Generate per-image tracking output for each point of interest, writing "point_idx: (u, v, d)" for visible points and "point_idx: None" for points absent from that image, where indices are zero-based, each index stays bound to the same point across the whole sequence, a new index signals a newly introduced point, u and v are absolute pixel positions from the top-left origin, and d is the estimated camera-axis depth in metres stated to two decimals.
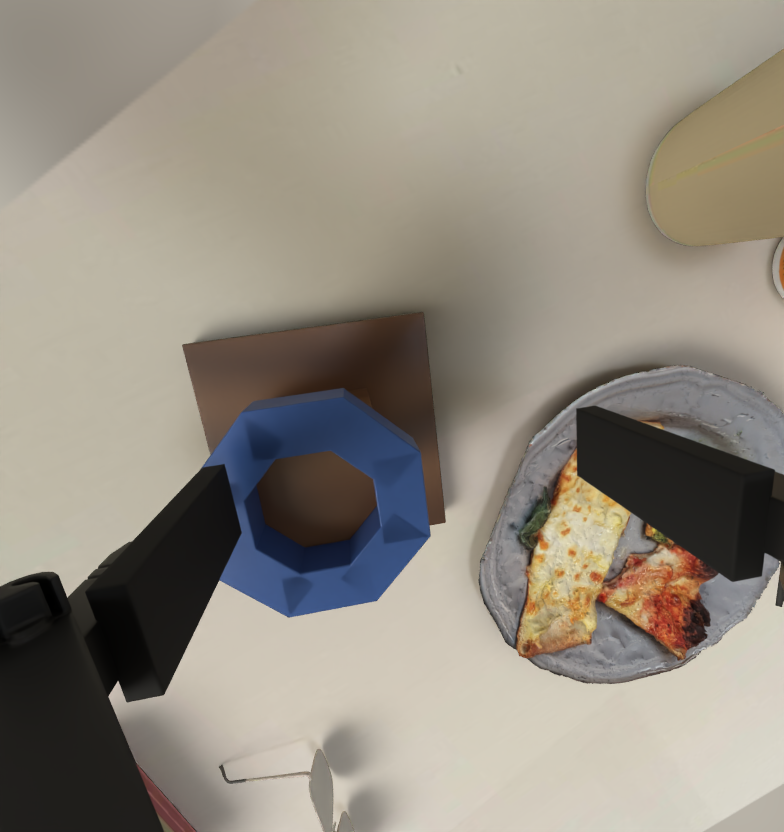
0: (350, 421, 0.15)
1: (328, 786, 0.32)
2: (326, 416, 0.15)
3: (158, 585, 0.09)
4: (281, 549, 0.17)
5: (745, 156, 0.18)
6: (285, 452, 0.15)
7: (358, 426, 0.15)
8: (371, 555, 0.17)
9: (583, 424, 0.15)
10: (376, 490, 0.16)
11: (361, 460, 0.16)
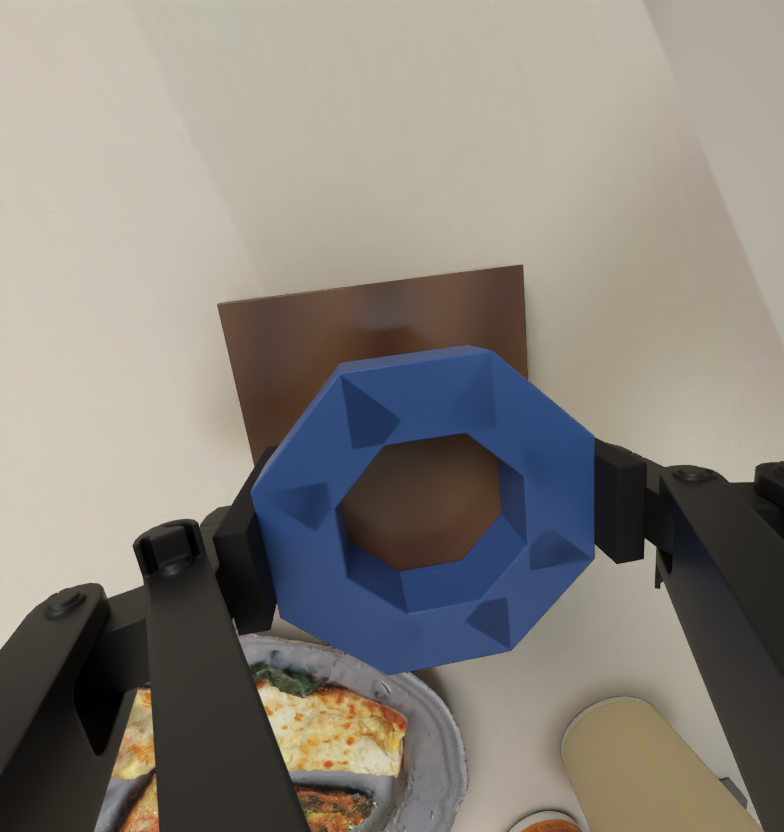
0: (563, 568, 0.11)
1: None
2: (573, 540, 0.11)
3: (261, 538, 0.10)
4: None
5: (686, 816, 0.21)
6: (532, 490, 0.11)
7: (555, 578, 0.12)
8: (362, 605, 0.11)
9: None
10: (464, 604, 0.11)
11: (509, 584, 0.11)
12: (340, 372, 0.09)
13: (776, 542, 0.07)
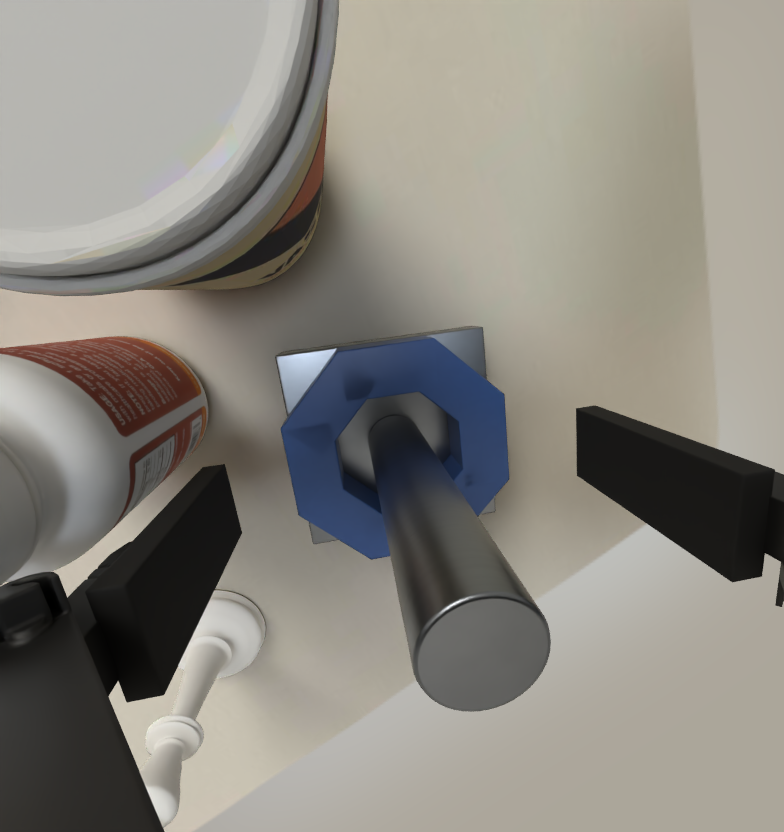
0: (488, 485, 0.17)
1: None
2: (494, 465, 0.17)
3: (158, 585, 0.09)
4: None
5: None
6: (464, 430, 0.16)
7: (482, 492, 0.17)
8: (353, 508, 0.17)
9: (583, 424, 0.15)
10: None
11: None
12: (338, 351, 0.15)
13: None
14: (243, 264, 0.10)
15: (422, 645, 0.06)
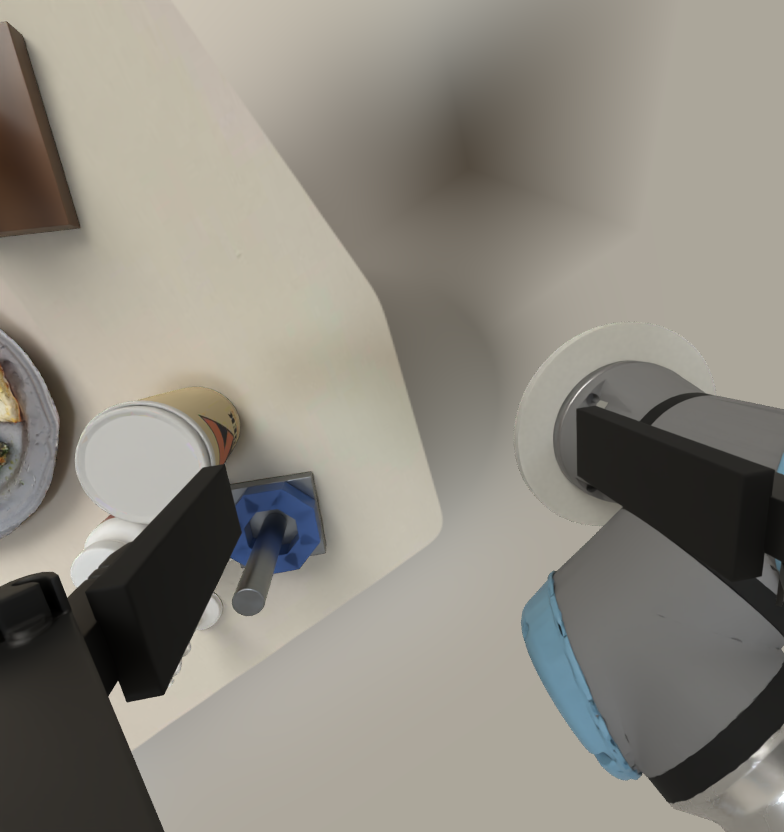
0: (311, 544, 0.41)
1: None
2: (312, 536, 0.40)
3: (158, 585, 0.09)
4: None
5: None
6: (298, 523, 0.40)
7: (309, 547, 0.41)
8: None
9: (582, 424, 0.15)
10: (282, 554, 0.41)
11: (295, 549, 0.41)
12: (243, 495, 0.39)
13: None
14: None
15: (233, 600, 0.30)
